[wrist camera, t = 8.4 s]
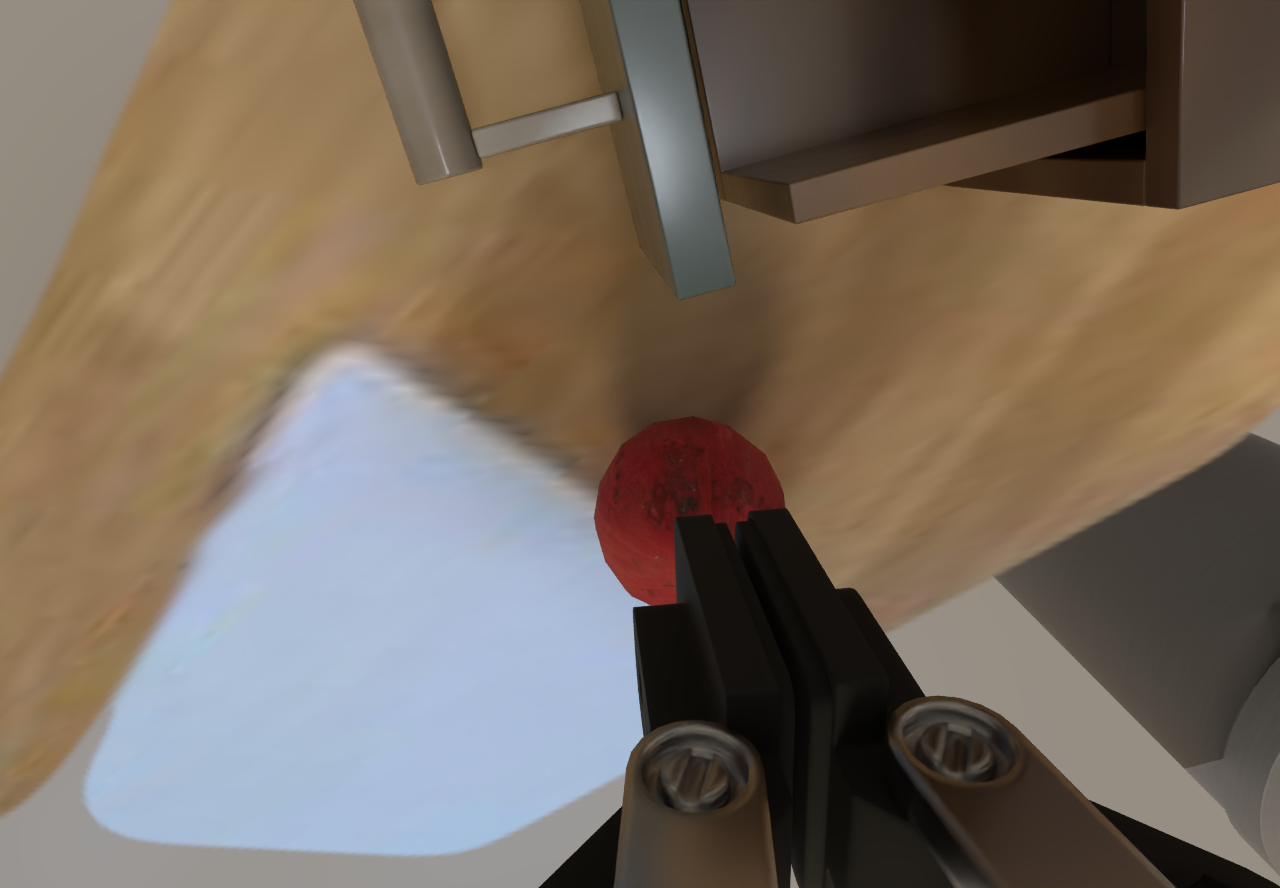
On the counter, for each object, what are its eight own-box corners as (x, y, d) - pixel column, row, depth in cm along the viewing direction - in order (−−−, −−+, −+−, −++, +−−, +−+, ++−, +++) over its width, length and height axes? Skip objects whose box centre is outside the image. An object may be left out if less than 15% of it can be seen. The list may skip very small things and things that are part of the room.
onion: (576, 406, 25) (579, 512, 18) (743, 372, 26) (816, 464, 18) (609, 554, 28) (624, 704, 20) (763, 523, 28) (835, 660, 20)
